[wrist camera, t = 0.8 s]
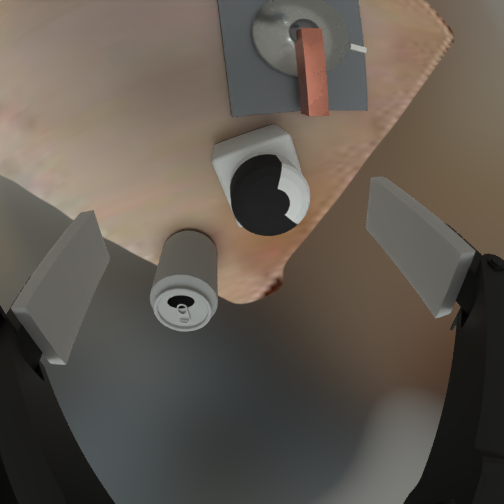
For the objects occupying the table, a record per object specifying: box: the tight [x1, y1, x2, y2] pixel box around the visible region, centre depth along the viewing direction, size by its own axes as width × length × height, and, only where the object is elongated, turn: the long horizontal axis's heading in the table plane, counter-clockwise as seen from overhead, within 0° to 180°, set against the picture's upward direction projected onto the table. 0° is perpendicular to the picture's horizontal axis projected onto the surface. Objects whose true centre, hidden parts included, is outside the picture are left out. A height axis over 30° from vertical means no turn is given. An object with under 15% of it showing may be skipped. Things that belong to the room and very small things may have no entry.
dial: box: [251, 0, 348, 116], centre depth 23 cm, size 14×10×5 cm
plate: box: [218, 0, 368, 117], centre depth 25 cm, size 18×16×2 cm
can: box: [150, 231, 218, 331], centre depth 34 cm, size 8×8×12 cm
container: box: [212, 124, 310, 236], centre depth 28 cm, size 8×8×13 cm
